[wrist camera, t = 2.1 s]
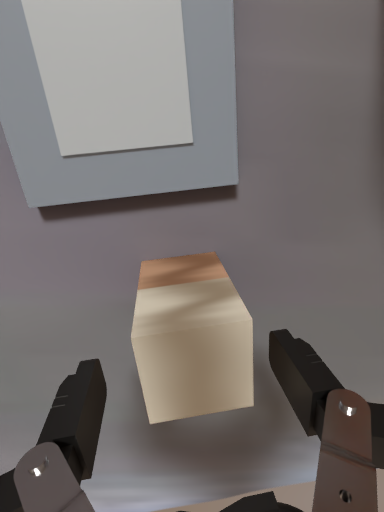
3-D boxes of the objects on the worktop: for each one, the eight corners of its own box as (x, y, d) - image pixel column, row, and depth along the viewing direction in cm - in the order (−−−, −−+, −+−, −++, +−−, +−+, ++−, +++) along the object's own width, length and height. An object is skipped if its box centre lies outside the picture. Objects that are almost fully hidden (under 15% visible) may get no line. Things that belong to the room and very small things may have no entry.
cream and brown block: (214, 251, 19) (252, 319, 11) (218, 313, 20) (253, 405, 13) (141, 261, 18) (130, 338, 11) (152, 323, 20) (149, 424, 13)
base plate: (224, -86, 12) (231, -108, 11) (234, 182, 17) (239, 184, 16) (-52, -76, 12) (-73, -98, 11) (35, 204, 16) (27, 208, 15)
